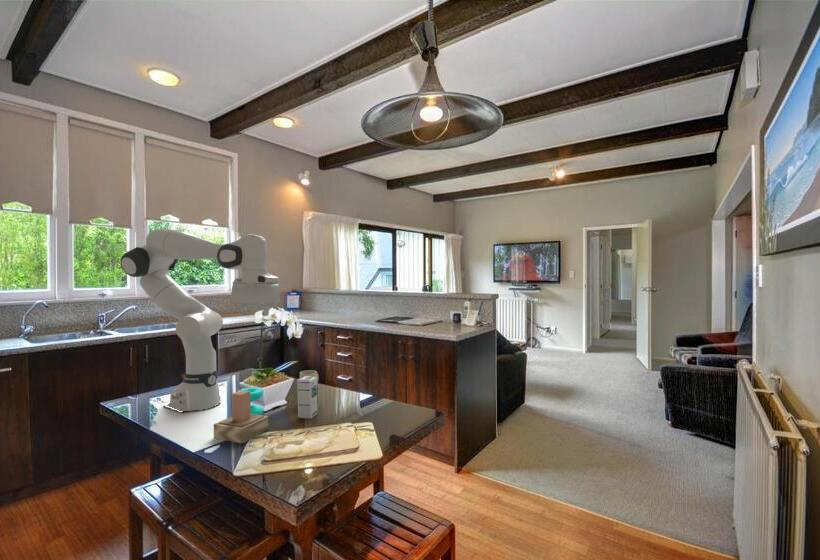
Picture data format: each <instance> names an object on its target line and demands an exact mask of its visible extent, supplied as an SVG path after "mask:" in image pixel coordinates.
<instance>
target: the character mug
mask: <svg viewBox="0 0 820 560" xmlns="http://www.w3.org/2000/svg"><path fill="white" fill-rule="evenodd" d="M304 376H305V377H306V376H313V377H317V382H319V373H318V371H316V370H309V369H308V370H302V371H300V372H299V378H298V379H297V381H298V380H299V379H301V378H303V377H304Z"/></svg>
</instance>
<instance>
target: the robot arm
mask: <svg viewBox="0 0 820 560" xmlns="http://www.w3.org/2000/svg"><path fill="white" fill-rule="evenodd" d="M179 260H181V261H187V260H189V261H191V260H217V262H218V264H219V266H221V267H222V268H223V269H227V270H237V271H238V270H240V271H241V278H238V277H237V278H235V279H234V280H233V282H232V286H231V291H230V292H231V293H230V301H231V302H232V303H234V304H235V303H237V304H238V306H239V308H240V310H241V315H242V316H248V315H249V310H247V307H246V306H247V304H263V305H264V310H262V312H261V315H262V316H263V317H268V316H269V314H270V313H269V312H270V310H271V309H272V308H271V307H272V304H279V302H280V301H281V288H280V285H279V283H280V278H279V276H276V275H274V274H272V273H269V272H268V265H267V262H268V244H267V240H266V238H265V237H263V236H261V235H257V234H250V233H245V234H243V235H242V236H241V237H240V238H238V239H237V240H235V241H231V242H229V243H225V244H221V243H216V242H213V241H211V240H208V239H205V238H202V237H200V236H198V235H194V234H192V233H188V232H185V231H183V230H178V229H170V228H156V229H154V230H151V231H150V232H149V233H148V234H147V235H146V239H145V245H143V246H140V247H139V246H136V247H134V248H132V249H130V250H127V251H126V252H125V253H124V254H122V255H121V257H120V266H121V267H120V268H121V269H122V271H124V272H125V274H126V275H128V276H129V277H132V278H140V279H139V285H140V287H141V288H142V289H143V291H144V292H145V294H146V295H147V296H149V298H150V299H151V300H152V301H153V302H154V303H155V304H156V305H157V306H158V307H159V308H160V309H161V310H162V311H164V312H165V313H166V315H168V316H171V317H173V318H174V319H177V320H178V321H177V323H176V325H175V333H176V335H177V337H179V339H181V342H182V345H183V348H184V349H183V350H184V353H185V372H184V373H181V378H183V379H182V382H180V384H179V385H177V386H176V387H175V388H174V389H172V390H171V393H170V397H169V401H170V403H169V404H168V405H167V406H169V407H172V408H174V409H177V410H179V411H190V410H199V411H204V410H203V409H205V410H208V408H209V409H212V408H211V407H213V406H215V405H217V404H219V403H220V401H221V400H220V398H221V399H222V396H220V387H219V382H218V376H219V375H218V374H219V373H218V369H217V351H216V350H215V348H214V346H213V342H212V338H211V336H214V335H215V334H217V333H218V332H219V331H220V330H221V328H222V327H223V323H224V321H223V319H224V318H223V317H222V316H221V314H220V313H218V312H217V311H214V310H212V309H211V308H209V307H208V306H206V305H205V304H204V303H203V302H201V301H199V300H198V299H196V298H194V297H193V296H192V295H191V294H189V292H188V291H186V289H184V288H183V287H182V286H181V285H180V284H179V283H178V282H177V281H176V280H175V279H173V278H172V277H171V275H170V273H169V271H173V270H175V268H176V264H177V263H178V262H179ZM220 404H221V403H220ZM220 404H219V405H220ZM215 407H216V406H215ZM213 408H214V407H213ZM190 412H191V411H190Z"/></svg>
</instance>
